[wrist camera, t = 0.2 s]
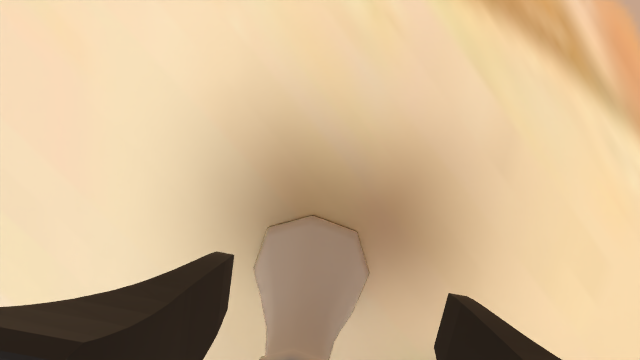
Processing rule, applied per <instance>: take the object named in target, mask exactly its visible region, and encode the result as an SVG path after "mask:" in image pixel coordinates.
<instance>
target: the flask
mask: <svg viewBox="0 0 640 360" xmlns="http://www.w3.org/2000/svg"><path fill="white" fill-rule="evenodd" d="M254 273H255V277H256V281H257V285H258V289H259V292H260V296H261V301H262V306H263V312H264V317H265V322H266V327H267V328H266V353H265V356H263V357H261V358H260V359H259V360H329V358H330V354H331V351H332V347H333V344H334V341H335V339H336V338H337V336H338V334H339V332H340V331H341V329H342V328H343V326H344V325H345V323H346V322H347V320H348V319H349V317H350V316H351V314H352V312H353V310H354V308H355V305H356V303H357V301H358V298H359V296H360V294H361V292H362V289H363V287H364V285H365V282H366V280H367V278H368V276H369V271H368V268H367V264H366V261H365V257H364V254H363V251H362V247H361V244H360V240H359V237H358V233H357V232H356V231H354V230H351V229H348V228H345V227H343V226H340V225H337V224H335V223H332V222H329V221H326V220H324V219H321V218H318V217H316V216H313V215H312V216H309V217H305V218H301V219H297V220H294V221H290V222H286V223H283V224H279V225H275V226H272V227H268V228H267V231H266V234H265V237H264V240H263V243H262V245H261V248H260V251H259V254H258V257H257V259H256V262H255V265H254Z"/></svg>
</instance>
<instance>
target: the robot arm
mask: <svg viewBox="0 0 640 360" xmlns="http://www.w3.org/2000/svg"><path fill="white" fill-rule="evenodd" d="M233 260H234V255H232V254H227V253H221V252H214V253H211V254H208V255H206V256H204V257H201V258H199V259H197V260H195V261H193V262H190V263H188V264H186V265H183V266H181V267H179V268H177V269H174V270H172V271H169V272H167V273H164V274H162V275H159V276H156V277H154V278H151V279H149V280H146V281H143V282H140V283H137V284H134V285H130V286H127V287H123V288H120V289H116V290H112V291H108V292H103V293H99V294H94V295H89V296H84V297H80V298H75V299H69V300H62V301H56V302H49V303H41V304H32V305H23V306H11V307H0V360H203V359H204V357H205V355H206V353H207V352H208V350H209V348H210V346H211V345H212V343H213V341H214V339H215V338H216V336H217V334H218V331H219V329H220V327H221V324H222V322H223V319H224V317H225V314H226V312H227V309H228V301H229V293H230V285H231V276H232V268H233ZM434 349H435V354H436V359H437V360H561V359H560V358H558V357H556V356H555V355H553V354H552V353H550V352H549V351H547V350H546V349H544V348H543V347H541V346H540V345H538V344H536V343H535V342H533V341H532V340H531V339H529V338H528V337H526V336H525V335H523V334H522V333H520V332H519V331H518V330H516V329H515V328H513V327H512V326H510V325H509V324H508V323H506V322H505V321H503V320H502V319H501V318H499V317H498V316H496V315H495V314H494V313H492V312H491V311H489V310H488V309H487V308H485V307H484V306H482V305H481V304H479V303H478V302H476V301H475V300H473V299H471V298H469V297H467V296H462V295H456V294H451V293H449V294H448V297H447V301H446V305H445V308H444V312H443V316H442V319H441V323H440V327H439V330H438V334H437V338H436V341H435V345H434Z"/></svg>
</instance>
